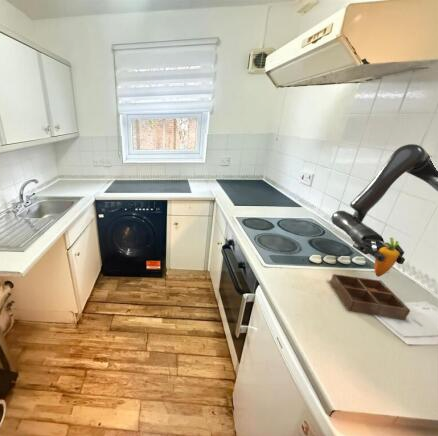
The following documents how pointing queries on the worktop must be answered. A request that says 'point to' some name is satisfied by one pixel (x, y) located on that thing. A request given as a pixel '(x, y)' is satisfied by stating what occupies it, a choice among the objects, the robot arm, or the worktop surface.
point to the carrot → (387, 258)
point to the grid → (369, 297)
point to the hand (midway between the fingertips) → (392, 260)
